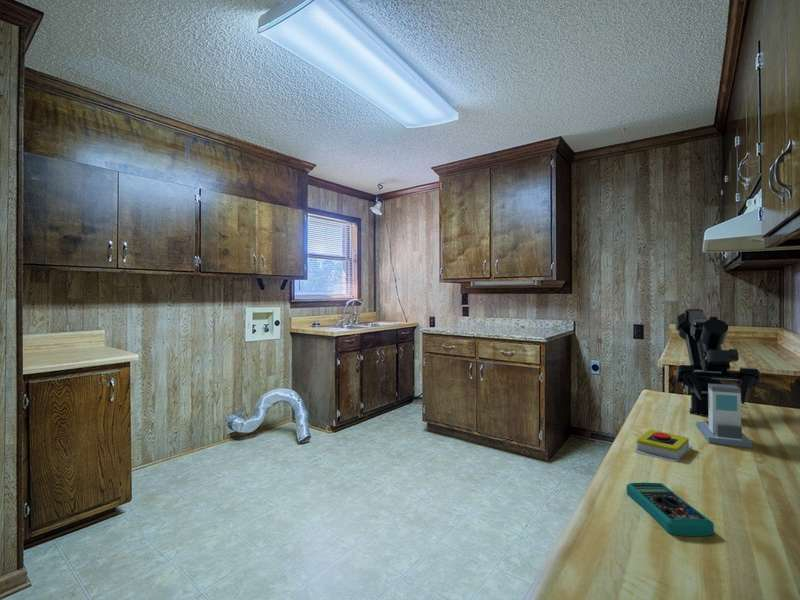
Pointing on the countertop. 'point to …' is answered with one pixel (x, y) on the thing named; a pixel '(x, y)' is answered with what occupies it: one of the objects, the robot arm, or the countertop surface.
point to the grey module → (724, 405)
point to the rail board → (713, 439)
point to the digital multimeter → (670, 510)
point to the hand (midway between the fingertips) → (722, 401)
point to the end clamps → (729, 431)
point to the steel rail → (722, 437)
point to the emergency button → (662, 445)
